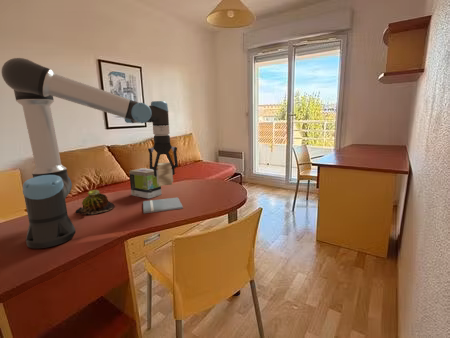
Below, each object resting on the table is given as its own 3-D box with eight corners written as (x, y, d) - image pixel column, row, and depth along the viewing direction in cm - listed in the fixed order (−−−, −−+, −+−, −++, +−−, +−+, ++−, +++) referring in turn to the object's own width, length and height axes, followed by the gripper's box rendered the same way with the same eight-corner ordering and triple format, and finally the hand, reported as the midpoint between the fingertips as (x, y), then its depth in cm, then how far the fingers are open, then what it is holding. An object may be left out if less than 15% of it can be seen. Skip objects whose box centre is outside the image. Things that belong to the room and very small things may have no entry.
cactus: (67, 215, 111) (63, 195, 109) (89, 204, 126) (87, 185, 124) (102, 216, 109) (100, 195, 107) (120, 204, 125) (119, 186, 123)
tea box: (162, 194, 139) (160, 169, 137) (148, 199, 131) (146, 172, 128) (144, 191, 147) (142, 167, 145) (130, 195, 139) (128, 170, 136)
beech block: (159, 185, 116) (157, 165, 114) (158, 183, 121) (156, 163, 120) (172, 184, 118) (170, 164, 116) (170, 181, 123) (169, 162, 121)
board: (143, 213, 111) (143, 211, 111) (143, 202, 126) (143, 201, 125) (182, 208, 117) (182, 206, 116) (178, 198, 131) (177, 197, 131)
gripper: (140, 136, 108) (145, 186, 113) (182, 134, 114) (185, 181, 119) (140, 135, 115) (144, 182, 120) (180, 133, 121) (183, 178, 126)
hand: (165, 182), depth 119 cm, fingers closed on beech block, 6 cm apart
